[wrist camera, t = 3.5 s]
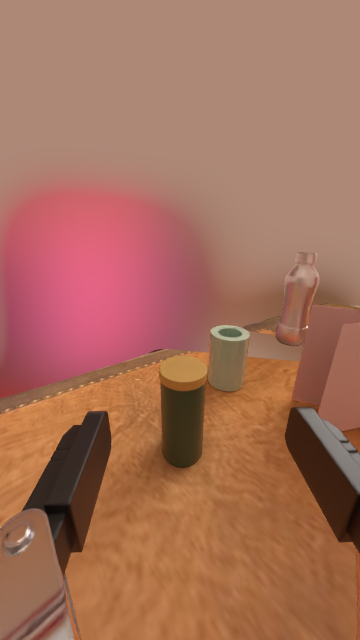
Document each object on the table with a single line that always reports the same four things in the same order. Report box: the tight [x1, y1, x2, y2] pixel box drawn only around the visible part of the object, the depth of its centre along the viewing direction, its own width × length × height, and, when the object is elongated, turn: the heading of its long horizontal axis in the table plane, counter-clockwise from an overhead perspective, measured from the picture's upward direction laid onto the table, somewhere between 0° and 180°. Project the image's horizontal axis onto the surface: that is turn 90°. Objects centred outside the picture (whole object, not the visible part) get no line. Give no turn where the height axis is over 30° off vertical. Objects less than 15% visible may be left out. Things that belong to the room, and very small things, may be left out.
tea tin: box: [159, 356, 207, 467], centre depth 25 cm, size 5×5×11 cm
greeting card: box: [292, 305, 360, 431], centre depth 27 cm, size 11×7×15 cm, turn 67°
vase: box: [208, 325, 250, 392], centre depth 37 cm, size 6×6×9 cm
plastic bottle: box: [276, 253, 320, 346], centre depth 49 cm, size 6×7×20 cm
